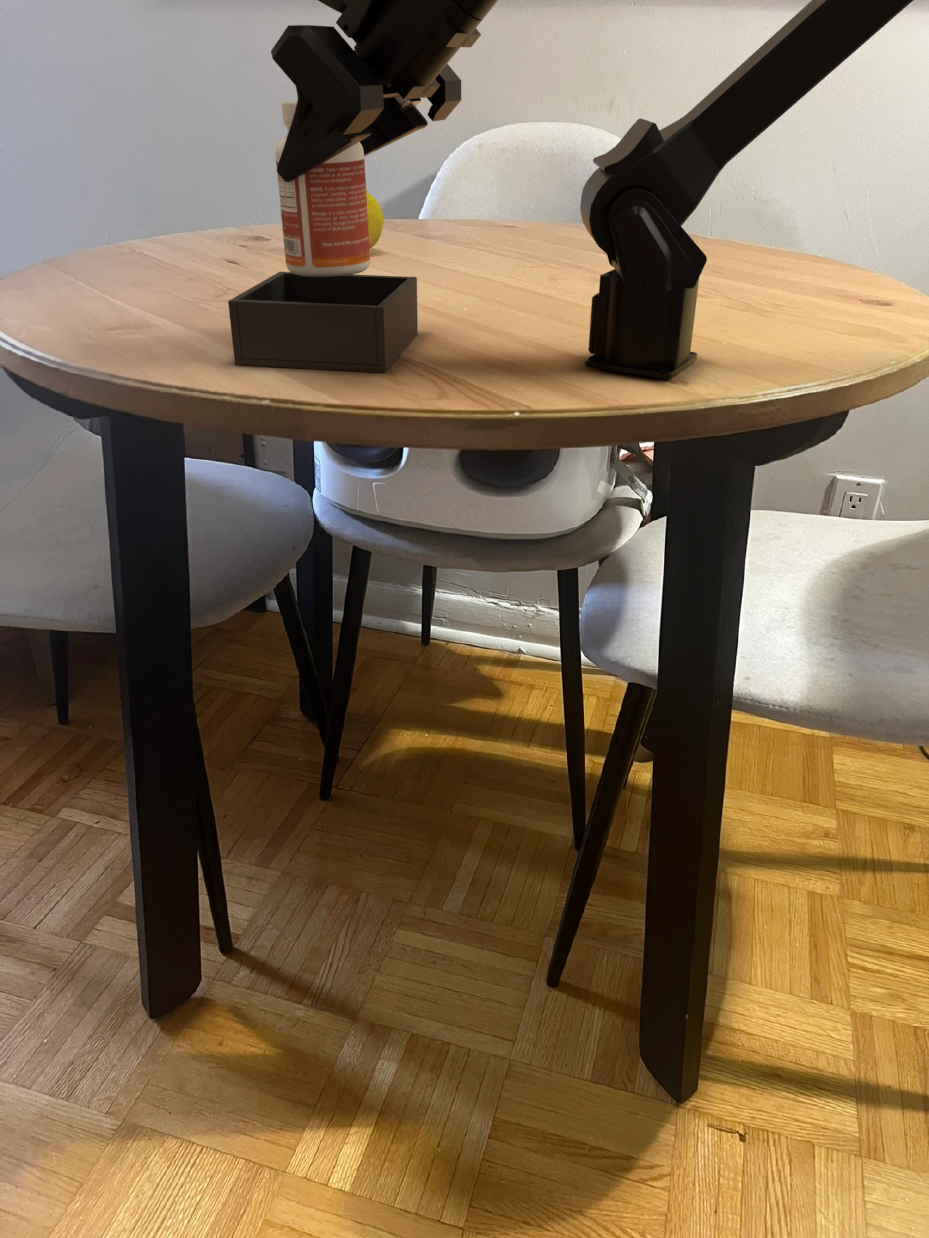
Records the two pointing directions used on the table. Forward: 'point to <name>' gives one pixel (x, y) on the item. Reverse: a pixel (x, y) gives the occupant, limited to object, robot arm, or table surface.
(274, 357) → the black open box
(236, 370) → the table surface
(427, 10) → the robot arm
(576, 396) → the table surface
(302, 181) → the pill bottle
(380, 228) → the fruit
